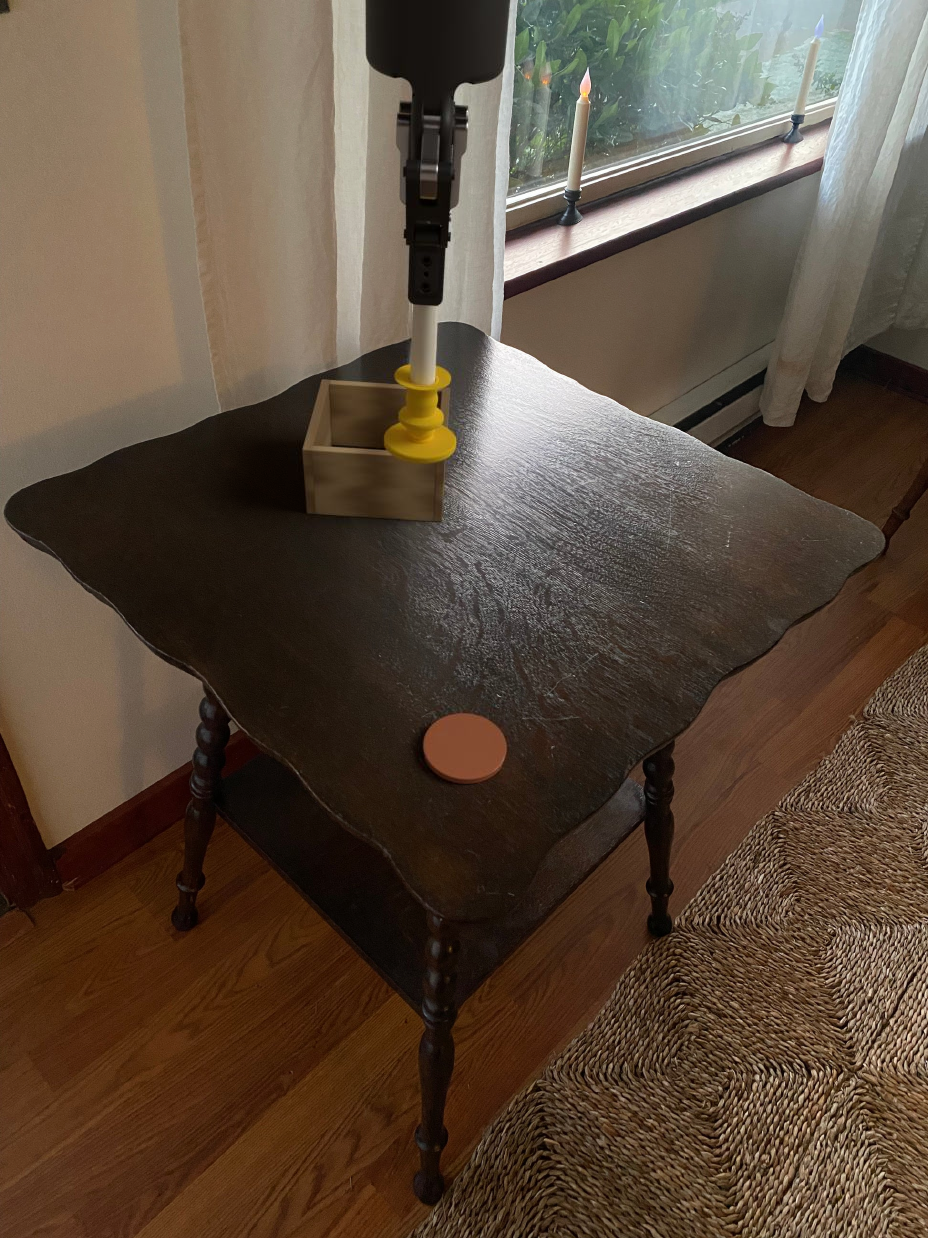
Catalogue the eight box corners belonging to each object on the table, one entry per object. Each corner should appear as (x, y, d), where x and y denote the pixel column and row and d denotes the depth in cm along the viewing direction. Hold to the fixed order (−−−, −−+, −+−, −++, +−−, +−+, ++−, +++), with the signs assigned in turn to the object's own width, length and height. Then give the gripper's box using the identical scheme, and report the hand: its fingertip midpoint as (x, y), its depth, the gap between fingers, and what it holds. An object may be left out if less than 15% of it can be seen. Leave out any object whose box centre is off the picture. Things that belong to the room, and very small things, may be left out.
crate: (306, 513, 83) (302, 449, 79) (325, 440, 93) (321, 378, 88) (441, 522, 84) (445, 458, 79) (446, 448, 93) (450, 387, 88)
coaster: (420, 782, 62) (420, 776, 62) (425, 715, 67) (425, 710, 66) (506, 786, 62) (507, 781, 62) (505, 720, 67) (506, 715, 66)
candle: (379, 427, 66) (380, 206, 56) (449, 424, 67) (463, 206, 57) (388, 465, 62) (391, 236, 52) (462, 462, 63) (479, 236, 53)
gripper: (375, -62, 50) (375, 250, 62) (352, -21, 40) (357, 341, 52) (508, -50, 51) (482, 257, 63) (518, -7, 41) (485, 349, 53)
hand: (425, 294), depth 57 cm, fingers closed on candle
